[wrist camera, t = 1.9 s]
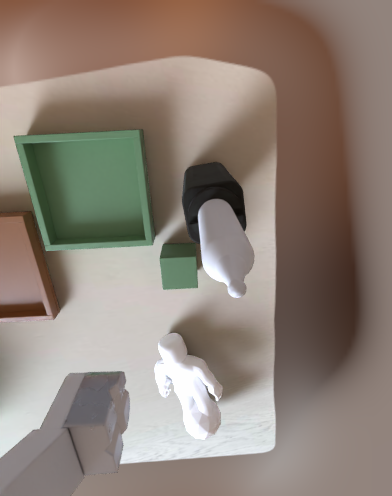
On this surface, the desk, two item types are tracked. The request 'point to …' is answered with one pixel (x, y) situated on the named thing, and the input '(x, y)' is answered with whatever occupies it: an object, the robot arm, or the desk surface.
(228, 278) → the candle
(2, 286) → the wood tray
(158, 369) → the figure
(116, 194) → the green tray
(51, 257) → the desk surface
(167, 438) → the desk surface
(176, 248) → the green block
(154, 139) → the desk surface
